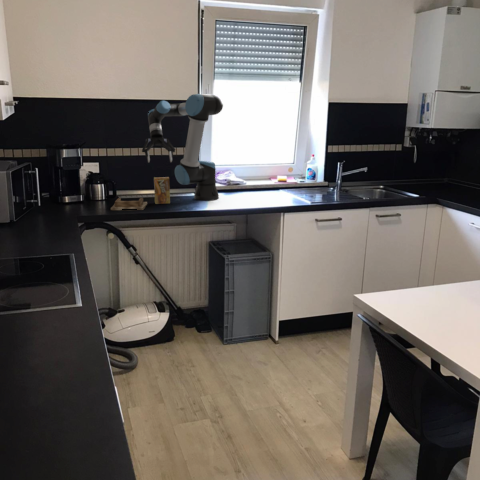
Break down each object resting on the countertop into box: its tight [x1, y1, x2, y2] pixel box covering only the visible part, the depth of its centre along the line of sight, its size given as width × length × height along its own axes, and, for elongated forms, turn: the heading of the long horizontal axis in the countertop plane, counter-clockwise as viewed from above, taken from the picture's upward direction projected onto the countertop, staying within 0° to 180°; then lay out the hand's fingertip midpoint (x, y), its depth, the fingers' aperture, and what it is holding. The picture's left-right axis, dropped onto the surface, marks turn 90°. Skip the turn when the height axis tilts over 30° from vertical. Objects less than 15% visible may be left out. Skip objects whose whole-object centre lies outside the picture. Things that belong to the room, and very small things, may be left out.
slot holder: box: [110, 197, 148, 211], centre depth 306 cm, size 18×18×4 cm
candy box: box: [153, 176, 171, 205], centre depth 315 cm, size 9×4×15 cm, turn 103°
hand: (160, 161), depth 323 cm, fingers open, 13 cm apart
